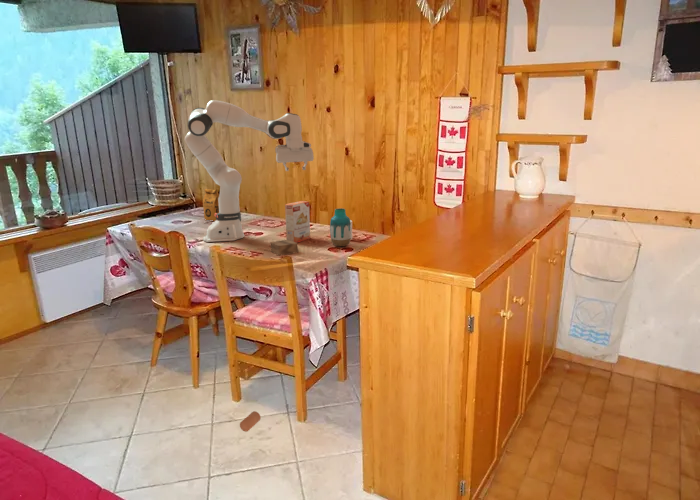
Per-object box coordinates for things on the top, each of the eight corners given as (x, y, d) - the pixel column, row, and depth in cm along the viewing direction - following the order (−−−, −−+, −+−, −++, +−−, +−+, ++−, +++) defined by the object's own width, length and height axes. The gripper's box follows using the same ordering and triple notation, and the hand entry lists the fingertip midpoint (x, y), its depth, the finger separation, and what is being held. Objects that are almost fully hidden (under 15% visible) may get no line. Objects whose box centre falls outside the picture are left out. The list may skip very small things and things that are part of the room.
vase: (332, 243, 269) (330, 207, 264) (352, 243, 268) (351, 207, 263) (329, 248, 258) (328, 211, 254) (350, 248, 257) (349, 210, 253)
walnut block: (279, 256, 247) (278, 246, 246) (271, 251, 255) (270, 242, 254) (297, 253, 252) (297, 243, 251) (289, 249, 260) (288, 239, 259)
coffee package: (214, 225, 325) (211, 190, 320) (202, 223, 333) (199, 189, 328) (226, 222, 333) (224, 189, 328) (215, 220, 341) (212, 187, 335)
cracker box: (295, 244, 270) (293, 204, 264) (286, 242, 273) (284, 204, 268) (311, 238, 281) (309, 201, 276) (302, 237, 284) (300, 200, 279)
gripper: (276, 145, 268) (277, 171, 271) (313, 143, 274) (315, 169, 278) (273, 145, 274) (275, 171, 277) (310, 143, 280) (311, 168, 284)
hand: (295, 170), depth 278 cm, fingers open, 8 cm apart
